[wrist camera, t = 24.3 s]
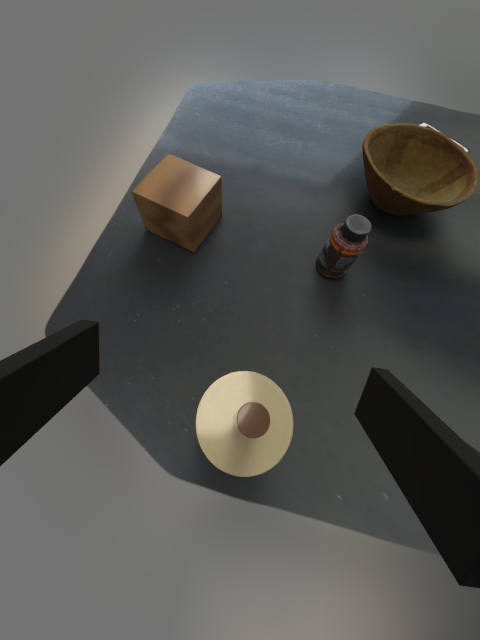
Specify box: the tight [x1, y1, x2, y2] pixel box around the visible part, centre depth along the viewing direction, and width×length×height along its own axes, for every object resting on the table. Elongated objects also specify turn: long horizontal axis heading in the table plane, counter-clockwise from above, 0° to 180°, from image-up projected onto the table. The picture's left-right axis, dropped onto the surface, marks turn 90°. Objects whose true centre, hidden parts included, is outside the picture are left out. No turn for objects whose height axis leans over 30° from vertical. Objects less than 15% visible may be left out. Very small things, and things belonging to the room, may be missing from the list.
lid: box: [196, 371, 293, 477], centre depth 23 cm, size 10×10×8 cm
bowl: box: [363, 123, 478, 216], centre depth 52 cm, size 22×23×10 cm
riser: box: [131, 154, 222, 252], centre depth 46 cm, size 11×11×9 cm
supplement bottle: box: [316, 215, 371, 278], centre depth 43 cm, size 6×6×11 cm
